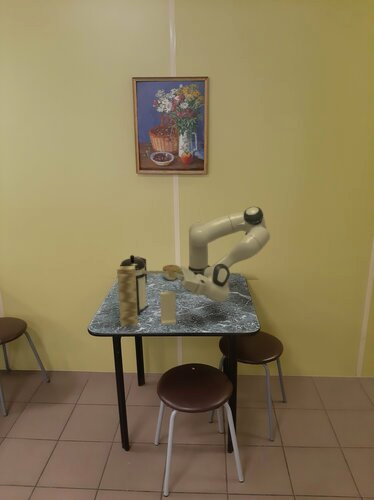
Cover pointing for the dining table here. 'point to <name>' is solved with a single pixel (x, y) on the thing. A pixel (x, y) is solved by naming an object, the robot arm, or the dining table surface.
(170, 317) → the cream rest post
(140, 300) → the coffee press
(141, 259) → the supplement box
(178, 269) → the beige mallet
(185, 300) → the dining table surface
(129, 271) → the birch bearing block
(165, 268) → the lidded jar
